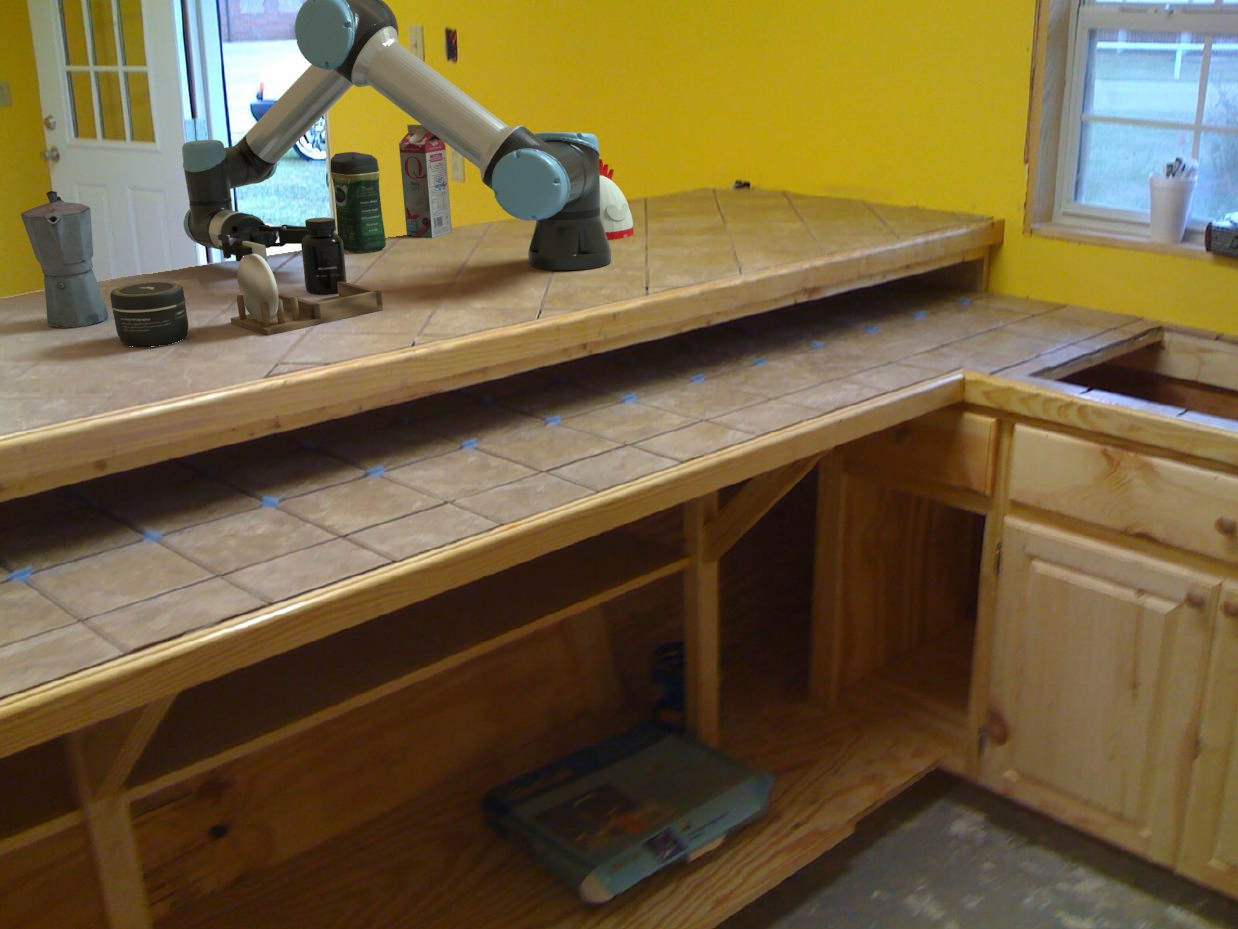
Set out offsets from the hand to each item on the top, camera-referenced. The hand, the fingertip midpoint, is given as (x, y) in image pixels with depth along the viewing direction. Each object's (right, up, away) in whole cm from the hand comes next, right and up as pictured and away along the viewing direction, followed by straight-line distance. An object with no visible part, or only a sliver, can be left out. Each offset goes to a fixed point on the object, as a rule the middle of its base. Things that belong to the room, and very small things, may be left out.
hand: (300, 247), depth 202 cm
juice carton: (+14, +11, +47) cm, 50 cm away
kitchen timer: (+50, +10, +42) cm, 66 cm away
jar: (-13, -19, -29) cm, 37 cm away
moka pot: (-30, -15, -17) cm, 38 cm away
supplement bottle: (+5, -8, -2) cm, 9 cm away
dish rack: (+6, -14, -18) cm, 23 cm away
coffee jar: (+3, +6, +33) cm, 33 cm away
